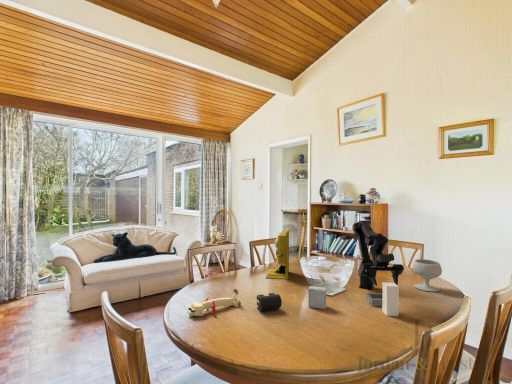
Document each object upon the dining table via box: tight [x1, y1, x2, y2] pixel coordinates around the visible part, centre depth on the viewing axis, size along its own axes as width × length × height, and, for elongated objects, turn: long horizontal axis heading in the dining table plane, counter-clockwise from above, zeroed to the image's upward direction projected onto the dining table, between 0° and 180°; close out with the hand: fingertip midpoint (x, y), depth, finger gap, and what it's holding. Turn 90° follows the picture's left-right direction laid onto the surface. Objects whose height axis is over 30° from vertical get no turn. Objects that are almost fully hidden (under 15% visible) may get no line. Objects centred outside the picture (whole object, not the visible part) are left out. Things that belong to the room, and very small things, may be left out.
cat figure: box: [187, 288, 242, 317], centre depth 128 cm, size 10×9×25 cm
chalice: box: [412, 258, 443, 293], centre depth 157 cm, size 14×14×15 cm
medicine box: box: [307, 285, 327, 310], centre depth 132 cm, size 8×4×9 cm, turn 71°
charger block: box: [381, 281, 400, 317], centre depth 125 cm, size 5×5×13 cm
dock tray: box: [365, 292, 382, 307], centre depth 137 cm, size 9×9×3 cm
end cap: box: [256, 292, 283, 313], centre depth 128 cm, size 10×7×7 cm
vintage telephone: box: [265, 227, 290, 281], centre depth 182 cm, size 31×14×30 cm, turn 172°
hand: (386, 285), depth 129 cm, fingers open, 9 cm apart
